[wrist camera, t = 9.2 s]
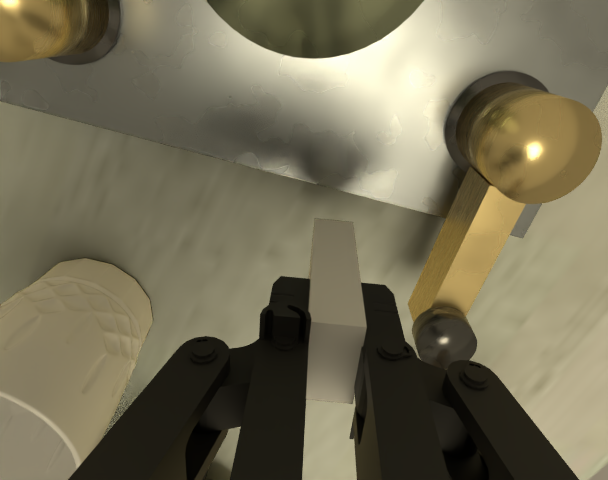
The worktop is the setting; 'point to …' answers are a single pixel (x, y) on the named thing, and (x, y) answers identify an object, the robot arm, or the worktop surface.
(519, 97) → the lever
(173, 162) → the worktop surface
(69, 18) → the lever
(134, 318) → the white cup
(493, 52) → the base
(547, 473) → the robot arm
